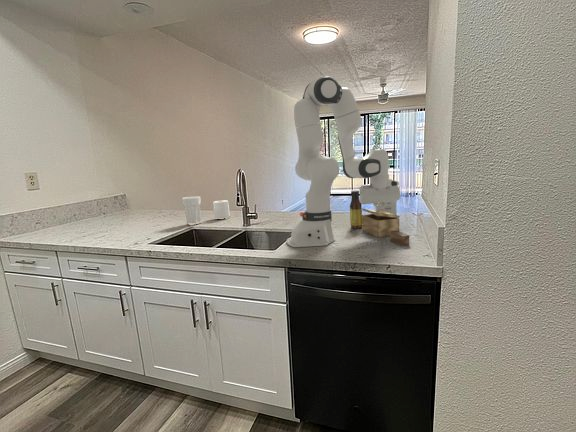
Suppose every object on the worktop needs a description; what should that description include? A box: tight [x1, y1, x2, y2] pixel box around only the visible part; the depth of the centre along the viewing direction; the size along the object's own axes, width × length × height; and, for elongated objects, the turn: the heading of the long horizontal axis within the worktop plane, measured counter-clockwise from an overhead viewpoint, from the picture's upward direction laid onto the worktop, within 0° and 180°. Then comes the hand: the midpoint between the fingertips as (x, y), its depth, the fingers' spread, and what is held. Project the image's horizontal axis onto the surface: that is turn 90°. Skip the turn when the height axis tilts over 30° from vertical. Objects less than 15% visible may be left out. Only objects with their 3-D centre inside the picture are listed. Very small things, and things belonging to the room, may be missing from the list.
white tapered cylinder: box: [212, 199, 231, 219], centre depth 223 cm, size 10×10×12 cm
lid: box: [362, 208, 401, 219], centre depth 160 cm, size 11×17×1 cm
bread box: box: [361, 213, 400, 238], centre depth 161 cm, size 11×17×8 cm
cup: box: [181, 195, 202, 224], centre depth 210 cm, size 11×11×17 cm
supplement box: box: [377, 201, 398, 215], centre depth 174 cm, size 10×9×17 cm
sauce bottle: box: [349, 189, 363, 229], centre depth 173 cm, size 7×6×20 cm
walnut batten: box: [390, 230, 410, 247], centre depth 142 cm, size 3×10×4 cm, turn 12°
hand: (380, 211), depth 160 cm, fingers closed
